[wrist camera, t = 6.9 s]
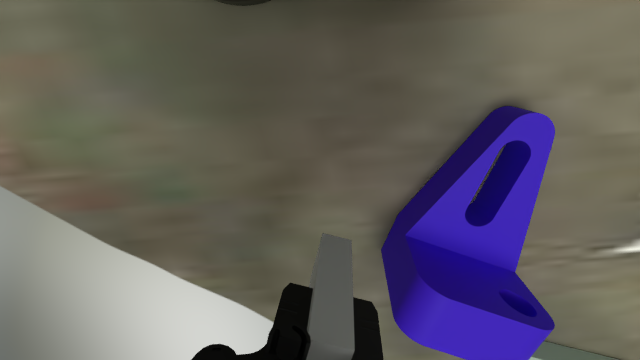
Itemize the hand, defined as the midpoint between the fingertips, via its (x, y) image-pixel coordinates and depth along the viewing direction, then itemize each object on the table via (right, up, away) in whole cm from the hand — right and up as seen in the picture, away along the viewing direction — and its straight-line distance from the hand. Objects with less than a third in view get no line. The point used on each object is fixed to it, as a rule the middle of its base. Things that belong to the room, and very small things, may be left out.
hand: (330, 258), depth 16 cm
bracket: (+14, +3, +15) cm, 21 cm away
